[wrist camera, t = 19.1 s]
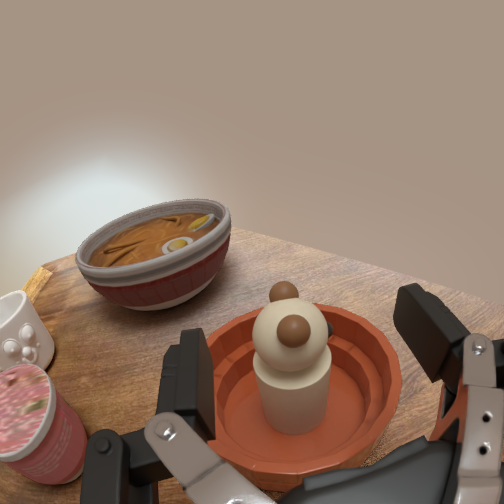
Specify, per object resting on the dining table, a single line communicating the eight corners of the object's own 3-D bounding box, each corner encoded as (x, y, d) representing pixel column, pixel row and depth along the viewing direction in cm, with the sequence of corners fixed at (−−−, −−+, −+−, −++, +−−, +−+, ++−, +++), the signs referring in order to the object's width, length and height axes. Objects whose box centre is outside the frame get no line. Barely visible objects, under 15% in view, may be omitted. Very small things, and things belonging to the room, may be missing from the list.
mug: (14, 410, 20) (-31, 358, 16) (-5, 375, 25) (-39, 328, 21) (71, 356, 30) (36, 300, 25) (43, 332, 34) (16, 284, 30)
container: (113, 486, 15) (53, 446, 11) (30, 500, 11) (-31, 460, 7) (92, 402, 23) (52, 350, 20) (24, 423, 19) (-19, 377, 15)
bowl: (273, 270, 42) (265, 206, 38) (145, 367, 28) (107, 294, 23) (182, 241, 56) (170, 194, 52) (83, 297, 42) (60, 245, 38)
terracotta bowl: (349, 333, 28) (353, 288, 26) (410, 456, 15) (438, 423, 12) (204, 361, 28) (188, 319, 25) (208, 504, 14) (180, 486, 11)
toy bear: (320, 379, 23) (321, 268, 18) (333, 427, 19) (349, 320, 13) (261, 390, 23) (238, 281, 18) (267, 439, 19) (242, 340, 13)
